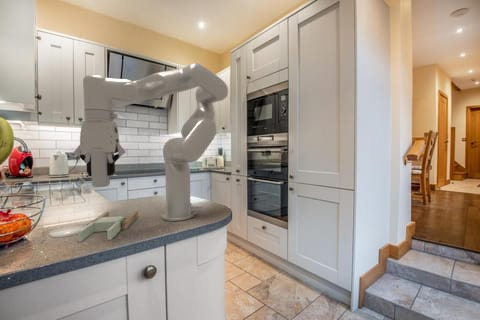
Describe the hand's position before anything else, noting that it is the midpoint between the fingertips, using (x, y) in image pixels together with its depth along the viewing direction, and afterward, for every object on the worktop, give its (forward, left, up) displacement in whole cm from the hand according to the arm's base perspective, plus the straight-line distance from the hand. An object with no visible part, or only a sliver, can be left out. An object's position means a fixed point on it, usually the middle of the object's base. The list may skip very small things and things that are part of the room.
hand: (101, 174), depth 72 cm
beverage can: (0, 0, -4) cm, 4 cm away
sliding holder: (0, -2, -19) cm, 19 cm away
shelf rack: (0, -11, -19) cm, 22 cm away
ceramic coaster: (+12, -4, -19) cm, 23 cm away
